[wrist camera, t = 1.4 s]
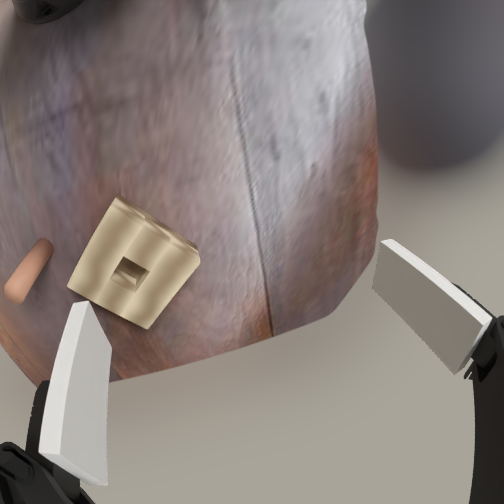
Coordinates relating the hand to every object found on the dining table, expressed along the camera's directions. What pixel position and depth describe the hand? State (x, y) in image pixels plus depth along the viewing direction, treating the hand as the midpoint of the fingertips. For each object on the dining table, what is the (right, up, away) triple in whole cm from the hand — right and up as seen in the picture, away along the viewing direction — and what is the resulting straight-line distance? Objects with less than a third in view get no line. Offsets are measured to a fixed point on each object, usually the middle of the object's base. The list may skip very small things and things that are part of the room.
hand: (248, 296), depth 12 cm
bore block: (-20, +1, +34) cm, 39 cm away
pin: (-36, +3, +28) cm, 46 cm away
